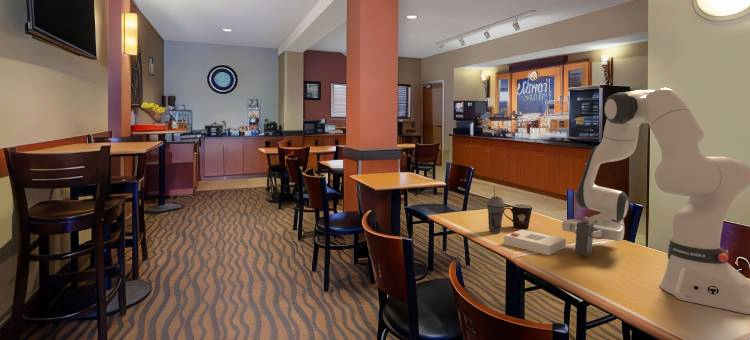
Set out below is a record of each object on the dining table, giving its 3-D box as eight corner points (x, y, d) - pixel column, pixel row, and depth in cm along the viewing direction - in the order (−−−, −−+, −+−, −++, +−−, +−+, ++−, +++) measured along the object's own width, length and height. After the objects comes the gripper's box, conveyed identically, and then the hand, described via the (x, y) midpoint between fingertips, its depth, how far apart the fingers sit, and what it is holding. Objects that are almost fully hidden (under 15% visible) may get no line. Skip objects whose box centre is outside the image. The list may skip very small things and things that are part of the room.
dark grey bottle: (591, 253, 153) (594, 217, 152) (586, 256, 150) (589, 219, 149) (580, 250, 156) (582, 215, 155) (574, 253, 153) (577, 217, 152)
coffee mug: (534, 227, 194) (535, 206, 193) (525, 231, 188) (527, 208, 187) (509, 223, 202) (511, 202, 201) (501, 226, 196) (502, 204, 195)
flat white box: (565, 247, 165) (566, 236, 164) (548, 255, 155) (549, 243, 155) (521, 237, 178) (522, 227, 177) (503, 244, 168) (504, 233, 168)
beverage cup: (504, 234, 182) (506, 188, 179) (486, 233, 183) (488, 187, 181) (502, 230, 189) (505, 185, 186) (485, 229, 190) (487, 184, 188)
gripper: (570, 213, 168) (555, 219, 159) (629, 223, 153) (615, 229, 144) (569, 229, 169) (554, 235, 159) (627, 240, 154) (614, 248, 145)
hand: (583, 233), depth 152 cm, fingers closed on dark grey bottle, 4 cm apart
